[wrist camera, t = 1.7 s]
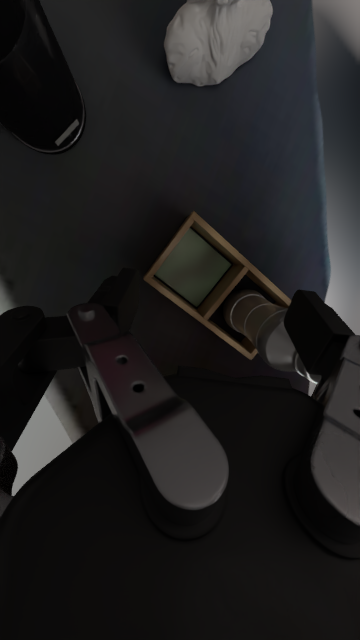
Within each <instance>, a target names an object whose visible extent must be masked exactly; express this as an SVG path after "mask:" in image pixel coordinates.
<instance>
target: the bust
mask: <svg viewBox="0 0 360 640" xmlns="http://www.w3.org/2000/svg"><path fill="white" fill-rule="evenodd" d="M272 12H273V9H272V5H271V2H270V0H187V2H186V4H184V5H183V6H182V7H181V8H180V9H179V10H178V11H177V13H176V15H175V17H174V18H173V20H172V21H171V22H170V23H169V25H168V27H167V31H166V37H165V40H164V48H165V52H166V57H167V64H168V67H169V71H170V74H171V76H172V78H173V80H174V81H175V82H177V83H192V84H194V85H196V86H204V85H215V84H219V83H220V82H222V81H223V80H224V79H226V78H228V77H229V76H230V75H231V74H232V73H233V72H234V71H235V70H236V68H237V67H239V66H240V65H242V64H243V63H245V62H247V61H248V60H250V59H251V58H252V57H253V55H254V54H255V53H256V52H257V51H258V50H259V49H260V47H261V46H262V44H263V42H264V37H265V34H266V32H267V31H268V29H269V27H270V18H271V16H272Z"/></svg>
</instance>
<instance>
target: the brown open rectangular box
mask: <svg viewBox="0 0 360 640" xmlns="http://www.w3.org/2000/svg"><path fill="white" fill-rule="evenodd" d="M190 226H191V227H193V228H194V229H195V230H196V231H197V232H198V233H199V234H200V235H202V236H203V237H204V238H205V239H206V240H207V241H208V242H209V243H211V244H212V245H213V246H214V247H215V248H216V249H217V250H218V251H220V252H221V253H222V254H223V255H224V256H225V257H226V258H227V259H229V260H230V261H231V262H232V263H233V264H234V265H233V266H232V267H231V268H230V270H229V271H228V272H227V273H226V274H225V276H224V277H223V278H222V279H221V281H220V282H219V283H218V284H217V286H216V287H215V288H214V289H213V291H212V292H211V293H210V294H209V295H208V297H207V298H206V299H205V300H204V302H203V303H202V304H201V305H200V307H199V308H198V309H196V308H194V307H193V306H192V305H190V304H189V303H188V302H186V301H185V300H184V299H183V298H181V297H180V296H179V295H177V294H176V293H175V292H173V291H172V290H171V289H169V288H168V287H167V286H166V285H164V284H163V283H162V282H160V281H159V280H158V279H156V278H155V277H154V275H156V276H157V277H158V278H160V279H161V280H162V281H164V282H165V283H166V284H167V285H169V286H170V287H171V288H173V289H174V290H175V291H177V292H178V293H179V294H180V295H182V296H183V297H184V298H186V299H187V300H188V301H189V302H191V303H192V304H193V305H195V306H196V307H197V306H198V305H199V304H200V303H201V302H202V300H203V299H204V298H205V297H206V295H207V294H208V293H209V292H210V290H211V289H212V288H213V287H214V285H215V284H216V283H217V282H218V280H219V279H220V278H221V277H222V276H223V274H224V273H225V272H226V271H227V269H228V268H229V267H230V266H231V264H230V263H229V262H228V261H227V260H226V259H225V258H223V257H222V256H221V255H220V254H219V253H218V252H217V251H216V250H214V249H213V248H212V247H211V246H210V245H209V244H208V243H207V242H205V241H204V240H203V239H202V238H201V237H200V236H199V235H197V234H196V233H195V232H194V231H193V230H192V229H191V228H190ZM244 275H247V276H248V277H249V278H250V279H251V280H252V281H253V282H254V283H256V284H257V285H258V286H259V287H260V288H261V289H262V290H263V291H265V292H266V293H267V294H268V295H269V296H270V297H271V298H272V299H274V300H275V301H276V302H275V303H274V305H277V306H280V307H283V308H288V307H289V305H290V303H291V300H290V299H289V298H288V297H287V296H286V295H285V294H284V293H283V292H282V291H281V290H279V289H278V288H277V287H276V286H275V285H274V284H273V283H272V282H271V281H270V280H269V279H267V278H266V277H265V276H264V275H263V274H262V273H261V272H260V271H259V270H258V269H256V268H255V267H254V266H253V265H252V264H251V263H250V262H249V261H248V260H247V259H246V258H244V257H243V256H242V255H241V254H240V253H239V252H238V251H237V250H236V249H235V248H234V247H232V246H231V245H230V244H229V243H228V242H227V241H226V240H225V239H224V238H223V237H222V236H220V235H219V234H218V233H217V232H216V231H215V230H214V229H213V228H212V227H211V226H210V225H208V224H207V223H206V222H205V221H204V220H203V219H202V218H201V217H200V216H199V215H198V214H196V213H195V212H192V213H191V214H190V215H189V216H188V217H187V218H186V220H185V221H184V222H183V224H182V225H181V226H180V228H179V229H178V230H177V232H176V233H175V234H174V236H173V237H172V238H171V240H170V241H169V242H168V244H167V245H166V246H165V248H164V249H163V250H162V252H161V253H160V255H159V256H158V257H157V259H156V260H155V261H154V263H153V264H152V265H151V267H150V268H149V269H148V271H147V272H146V273H145V275H144V278H143V279H144V280H145V281H146V282H147V283H149V284H150V285H151V286H153V287H154V288H155V289H157V290H158V291H159V292H161V293H162V294H163V295H165V296H166V297H167V298H169V299H170V300H171V301H173V302H174V303H175V304H177V305H178V306H179V307H181V308H182V309H183V310H185V311H186V312H187V313H189V314H190V315H191V316H193V317H194V318H195V319H197V320H198V321H199V322H201V323H202V324H203V325H205V326H206V327H207V328H209V329H210V330H211V331H213V332H214V333H215V334H217V335H218V336H219V337H221V338H222V339H223V340H225V341H226V342H227V343H229V344H230V345H231V346H233V347H234V348H235V349H237V350H238V351H239V352H241V353H242V354H243V355H245V356H246V357H247V358H249V359H250V360H251V359H252V358H253V357H254V356H255V355H256V354H257V353H258V351H257V350H256V348H255V346H254V345H253V344H252V342H251V341H250V340H249V339H248V338H247V337H245V338H244V339H243V340H242V341H241V342H239V341H237V340H236V339H235V338H233V337H232V336H231V335H229V334H228V333H227V332H226V331H224V330H223V329H222V328H220V327H219V326H218V325H216V324H215V323H214V322H213V321H211V320H210V319H209V318H210V316H211V315H212V314H213V313H214V311H215V310H216V309H217V308H218V307H219V305H220V304H221V303H222V302H223V301H224V299H225V298H226V297H227V296H228V294H229V293H230V292H231V291H232V290H233V288H234V287H235V286H236V285H237V284H238V282H239V281H240V280H241V279H242V278H243V276H244Z"/></svg>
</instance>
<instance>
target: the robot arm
mask: <svg viewBox="0 0 360 640" xmlns="http://www.w3.org/2000/svg"><path fill="white" fill-rule="evenodd" d="M85 121H86V111H85V104H84V100H83V97H82V94H81V92H80V89H79V87H78V85H77V83H76V81H75V80H74V78H73V76H72V74H71V71H70V69H69V66H68V64H67V62H66V60H65V57H64V55H63V53H62V51H61V48H60V46H59V44H58V42H57V39H56V37H55V35H54V33H53V31H52V28H51V26H50V24H49V22H48V19H47V17H46V15H45V13H44V10H43V8H42V6H41V4H40V1H39V0H0V122H1V123H2V124H3V125H4V126H5V127H6V128H7V129H9V130H10V131H11V132H12V133H13V134H14V135H15V136H16V137H17V138H18V139H19V140H20V141H21V142H23V143H24V144H25V145H27V146H28V147H30V148H31V149H33V150H35V151H38V152H41V153H45V154H60V153H63V152H65V151H68V150H69V149H71V148H72V147H73V146H74V145H75V144H76V143H77V142H78V141H79V139H80V138H81V136H82V133H83V131H84V127H85ZM138 304H139V270H137V269H129V268H123V269H122V270H121V272H120V273H119V275H118V276H117V277H116V276H111V277H109V278H107V279H106V280H104V281H103V283H102V284H101V286H100V287H99V288H98V289H97V291H96V292H95V293H94V295H93V296H92V297H91V299H90V300H89V302H88V303H83V304H79V305H76V306H74V307H72V308H71V309H70V310H69V311H68V313H67V316H60V317H46V318H45V317H44V313H43V311H42V310H41V309H40V308H38V307H34V306H22V307H17V308H13V309H10V310H8V311H6V312H4V313H3V314H2V315H0V640H360V336H359V335H355V334H354V333H353V332H352V330H351V329H350V328H349V327H348V326H347V325H346V323H345V322H344V321H342V319H341V318H340V317H339V316H338V314H336V312H335V311H334V310H333V309H332V308H331V307H329V306H328V305H326V304H325V303H324V302H323V301H322V299H321V298H320V297H319V296H318V295H317V294H316V292H313V291H305V290H297V291H296V292H295V294H294V296H293V298H292V301H291V303H290V305H289V307H288V310H287V312H286V314H285V317H284V327H285V329H286V331H287V333H288V335H289V337H290V339H291V341H292V343H293V345H294V347H295V349H296V351H297V353H298V355H299V357H300V359H301V361H302V363H303V365H304V367H305V369H306V371H307V373H308V374H312V375H321V379H320V380H319V382H318V383H317V385H316V387H315V390H314V392H313V394H312V396H311V397H310V396H309V395H307V394H305V393H303V392H301V391H298V390H296V389H293V388H292V386H291V384H290V381H289V379H285V378H277V377H269V376H253V377H242V378H232V377H229V376H226V375H223V374H220V373H217V372H213V371H210V370H207V369H201V368H193V367H185V366H178V372H177V374H173V375H168V376H164V377H163V376H162V374H161V373H160V372H159V370H158V369H157V368H156V366H155V365H154V364H153V362H152V361H151V359H150V358H149V357H148V355H147V354H146V353H145V351H144V350H143V349H142V347H141V346H140V344H139V343H138V342H137V340H136V339H135V338H134V336H133V335H132V334H131V333H130V332H129V329H130V326H131V324H132V321H133V319H134V316H135V314H136V311H137V308H138ZM77 367H78V368H79V371H80V373H81V375H82V378H83V380H84V383H85V385H86V388H87V390H88V393H89V395H90V397H91V400H92V403H93V406H94V409H95V413H96V416H97V419H98V422H99V423H98V424H97V425H96V426H95V427H93V428H92V429H91V430H90V431H88V432H87V433H86V434H85V435H83V436H82V437H81V438H80V439H78V440H77V441H76V442H75V443H73V444H72V445H71V446H70V447H68V448H67V449H66V450H65V451H63V452H62V453H61V454H60V455H58V456H57V457H56V458H55V459H53V460H52V461H51V462H50V463H48V464H47V465H46V466H45V467H43V468H42V469H41V470H40V471H38V472H37V473H36V474H35V475H34V476H32V477H31V478H30V479H29V480H28V481H27V482H26V483H25V484H24V485H23V486H22V487H21V489H20V490H19V491H18V492H17V493H16V495H15V496H12V486H13V482H14V479H15V477H16V474H17V469H18V464H17V460H16V458H15V456H14V455H13V453H12V452H11V451H12V450H13V448H14V446H15V445H16V443H17V441H18V439H19V437H20V436H21V434H22V432H23V430H24V429H25V427H26V425H27V423H28V421H29V420H30V418H31V416H32V414H33V412H34V411H35V409H36V407H37V406H38V404H39V402H40V400H41V398H42V397H43V395H44V393H45V391H46V390H47V388H48V386H49V384H50V382H51V381H52V379H53V377H54V375H55V374H56V372H57V370H62V369H69V368H77Z"/></svg>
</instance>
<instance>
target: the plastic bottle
mask: <svg viewBox="0 0 360 640" xmlns="http://www.w3.org/2000/svg"><path fill="white" fill-rule="evenodd" d="M287 310H288V308H283V307H280V306H277V305H274V304H272V303H270V302H269V301H268V300H266V299H265V298H264V297H263V296H262V295H261V294H260V293H259V292H257V291H255V290H250V289H242V290H238V291H236V292H234V293H232V294H231V295H230V296H229V297H228V298H227V300H226V301H225V303H224V306H223V316H224V318H225V321H226V323H227V324H228V326H230V327H231V328H232V329H234V330H236V331H238V332H240V333H242V334H243V335H245V336H246V337H247V338H248V339H249V340H250V341H251V342H252V344H253V345H254V346H255V348H256V350H257V351H258V353H259V355H260V356H261V357H262V359H263V360H264V361H265V362H266V363H267V364H268V365H269V366H271V367H273V368H276V369H278V370H281V371H297V372H298V373H299V374H300V375H302V376H304V377H306V378H307V379H308V380H310V381H311V382H313V383H316V384H317V383H318V382H319V380H320V379H321V375H312V374H308V373H307V371H306V369H305V367H304V365H303V363H302V361H301V359H300V357H299V355H298V353H297V351H296V349H295V347H294V345H293V343H292V341H291V339H290V337H289V335H288V333H287V331H286V329H285V327H284V317H285V314H286V312H287Z"/></svg>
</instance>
